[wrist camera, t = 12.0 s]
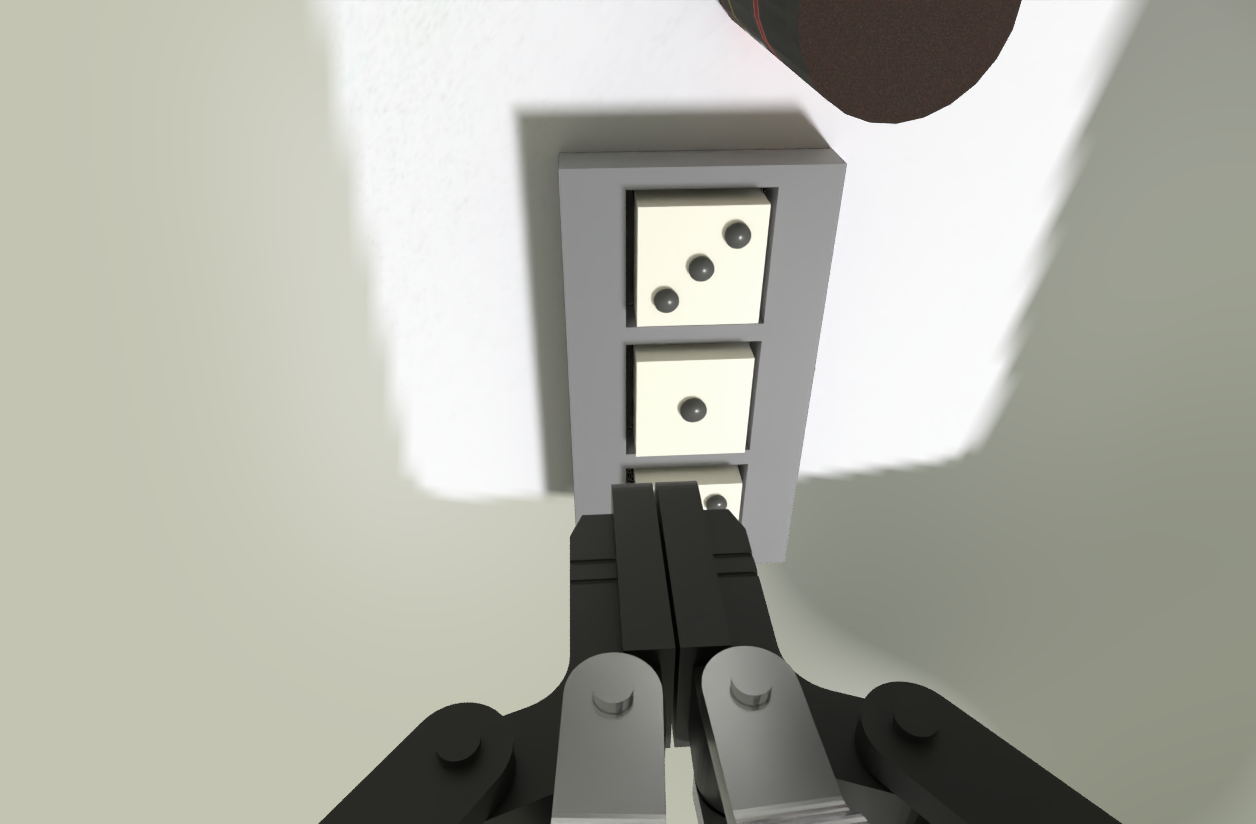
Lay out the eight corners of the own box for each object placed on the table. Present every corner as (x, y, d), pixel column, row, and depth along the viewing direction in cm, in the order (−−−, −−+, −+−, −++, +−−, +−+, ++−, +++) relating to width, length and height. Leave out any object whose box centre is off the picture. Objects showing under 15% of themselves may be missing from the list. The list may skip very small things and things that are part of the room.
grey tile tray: (831, 148, 37) (846, 164, 35) (775, 535, 51) (784, 562, 49) (558, 152, 37) (558, 169, 35) (577, 543, 51) (577, 571, 49)
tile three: (759, 186, 37) (771, 205, 35) (748, 300, 41) (759, 325, 38) (634, 189, 37) (638, 208, 35) (633, 303, 40) (637, 328, 38)
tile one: (745, 334, 42) (755, 360, 39) (736, 426, 45) (745, 454, 43) (633, 338, 41) (637, 363, 39) (633, 430, 45) (636, 458, 43)
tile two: (734, 456, 46) (743, 485, 44) (727, 531, 49) (734, 562, 47) (633, 460, 46) (636, 489, 43) (632, 535, 49) (635, 566, 47)
